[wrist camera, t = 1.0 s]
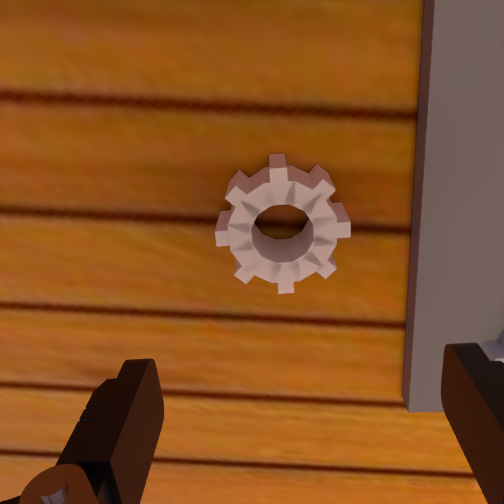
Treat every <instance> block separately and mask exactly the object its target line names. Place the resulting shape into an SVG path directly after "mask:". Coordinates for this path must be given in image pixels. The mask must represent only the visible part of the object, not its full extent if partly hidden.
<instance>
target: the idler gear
mask: <svg viewBox="0 0 504 504" xmlns="http://www.w3.org/2000/svg"><path fill="white" fill-rule="evenodd" d="M335 190H336V189H335V187H334V185H333V183H332V181H331V178H330V176H329V174H328V173H327V172H326V171H325V170H324V169H323V168H321V167H320V166H319V165H318V164H316V165H315V166H314V167H313V168H312V169H311V171H310V172H309V173H307V172H305V171H302V170H300V169H298V168H296V167H294V166H292V165H286V158H285V153H280V154H269V167H264V168H263V169H261V170H260V171H258V172H257V173H255V174H254V175H252V176H251V177H247V176H246V175H245V174H244V173H243V172H241V171H240V170H239V171H238V172H237V173H236V174H235V175H234V176H233V178H232V179H231V180H230V181H229V185H228V189H227V192H226V196H225V199H226V200H227V201H229V202H230V203H231V204H232V206H231V210H227V211H220V215H219V218H218V222H217V225H216V229H215V237H216V245H217V247H218V246H230V251H231V252H232V254H233V255H234V256H235V258H236V263H235V270H234V276H236V277H237V278H238V279H240V280H241V281H242V282H244V283H245V284H247V283H248V282H249V280H250V279H251V278H252V277H253V276H254V275H255V276H257V277H259V278H262V279H264V280H266V281H269V282H271V283H278V293H279V294H283V293H294V282H295V281H301V280H302V279H304V278H306V277H307V276H309V275H311V274H313V273H314V272H317V273H319V274H320V275H321V276H322V277H324V278H325V279H327V278H328V277H329V276H330V275H331V274H332V273H333V272H334V271H335V270H336V269H337V267H336V263H335V260H334V257H333V253H332V252H333V250H334V248H335V247H336V245H337V238H349V237H351V222H350V220H349V217H348V215H347V213H346V211H345V209H344V206H343V204H342V202H336V203H331V201H330V198H329V197H330V196H331V195H332V194H333V193H334V191H335ZM285 204H290V205H292V206H294V207H296V208H298V209H301V210H303V211H305V213H306V214H307V216H308V217H309V220H308V221H307V223H306V225H305V227H304V229H303V230H302V231H301V232H300V233H298V234H297V235H295V236H293V237H292V238H290V239H277V240H275V239H273V238H271V237H268V236H266V235H264V234H262V233H261V231H260V230H259V229H258V227H257V226H256V225H255V223H254V221H255V219H256V217H257V215H258V214H260V213H261V212H263V211H264V210H266V209H267V208H269V207H270V206H272V205H285Z"/></svg>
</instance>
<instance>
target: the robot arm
mask: <svg viewBox="0 0 504 504" xmlns="http://www.w3.org/2000/svg"><path fill="white" fill-rule="evenodd" d="M441 401H442V406H443V410H444V412H445V415H446V417H447V419H448V421H449V423H450V425H451V427H452V429H453V431H454V434H455V436H456V438H457V440H458V442H459V444H460V446H461V448H462V450H463V452H464V455H465V457H466V459H467V461H468V463H469V465H470V467H471V469H472V471H473V473H474V475H475V478H476V480H477V482H478V484H479V486H480V488H481V490H482V492H483V494H484V496H485V499H486V501H487V503H488V504H504V363H503V362H502V361H500V360H499V361H490V360H489V358H488V357H487V355H486V354H485V353H484V351H483V350H482V348H481V347H480V346H479V344H478V343H476V342H473V343H454V344H446V346H445V348H444V356H443V367H442V378H441ZM163 419H164V402H163V397H162V392H161V387H160V383H159V378H158V373H157V368H156V364H155V361H154V360H153V359H133V360H126V361H125V362H124V363H123V366H122V368H121V370H120V372H119V374H118V376H117V378H116V379H107V380H106V381H105V382H103V383H102V384H101V385H100V386H99V387H98V388H97V389H96V390H95V391H94V392H93V394H92V396H91V398H90V400H89V401H88V403H87V405H86V409H84V411H83V413H82V415H81V417H80V421H79V422H78V423H77V425H76V427H75V429H74V430H73V432H72V434H71V436H70V438H69V440H68V442H67V444H66V446H65V448H64V450H63V452H62V454H61V456H60V458H59V459H58V461H57V463H56V465H55V466H54V467H51V468H49V469H46V470H45V471H43V472H41V473H40V474H38V475H37V476H36V477H34V478H33V479H32V480H31V481H30V482H29V483H28V485H27V486H26V487H25V489H24V490H23V492H22V494H21V495H20V496H18V497H15V498H12V499H9V500H5V501H2V502H0V504H140V501H141V498H142V494H143V491H144V487H145V484H146V480H147V477H148V473H149V470H150V466H151V463H152V459H153V456H154V453H155V449H156V446H157V442H158V439H159V435H160V432H161V428H162V425H163Z"/></svg>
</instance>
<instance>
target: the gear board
mask: <svg viewBox="0 0 504 504" xmlns="http://www.w3.org/2000/svg"><path fill="white" fill-rule="evenodd" d="M473 342H476V343H478V344H479V346H480V347H481V348H482V350H483V351H484V353H485V354H486V355H487V357H488V358H489V360H490V361H499V360H500V361H502V362H503V363H504V0H424V11H423V29H422V47H421V65H420V83H419V101H418V119H417V137H416V155H415V172H414V190H413V208H412V226H411V244H410V262H409V280H408V298H407V316H406V334H405V352H404V370H403V387H402V397H403V399H404V402H405V405H406V407H407V410H408V413H410V412H433V411H444V410H443V406H442V401H441V378H442V367H443V356H444V348H445V346H446V344H454V343H473Z"/></svg>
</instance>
